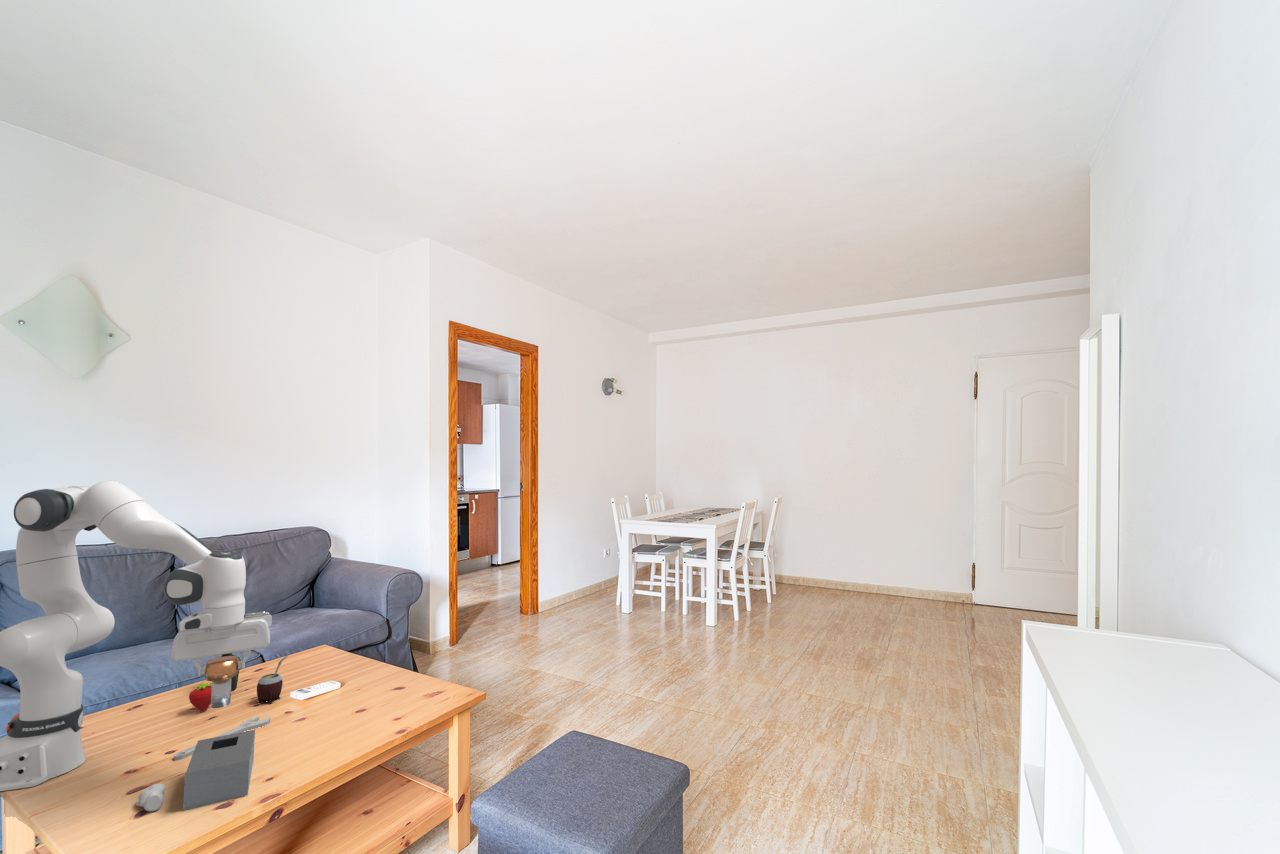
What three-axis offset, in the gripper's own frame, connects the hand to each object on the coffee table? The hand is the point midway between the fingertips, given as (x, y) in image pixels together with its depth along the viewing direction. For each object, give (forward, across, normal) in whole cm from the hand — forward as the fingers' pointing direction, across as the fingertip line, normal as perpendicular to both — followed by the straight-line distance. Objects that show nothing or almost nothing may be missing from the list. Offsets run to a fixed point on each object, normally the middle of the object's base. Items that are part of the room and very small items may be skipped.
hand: (222, 671), depth 143 cm
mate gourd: (+25, -9, -48) cm, 54 cm away
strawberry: (+25, +9, -48) cm, 55 cm away
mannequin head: (+26, +12, +7) cm, 29 cm away
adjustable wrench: (+26, +1, -24) cm, 35 cm away
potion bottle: (+24, +5, -66) cm, 70 cm away
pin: (+8, 0, 0) cm, 8 cm away
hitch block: (+26, -1, +4) cm, 26 cm away
